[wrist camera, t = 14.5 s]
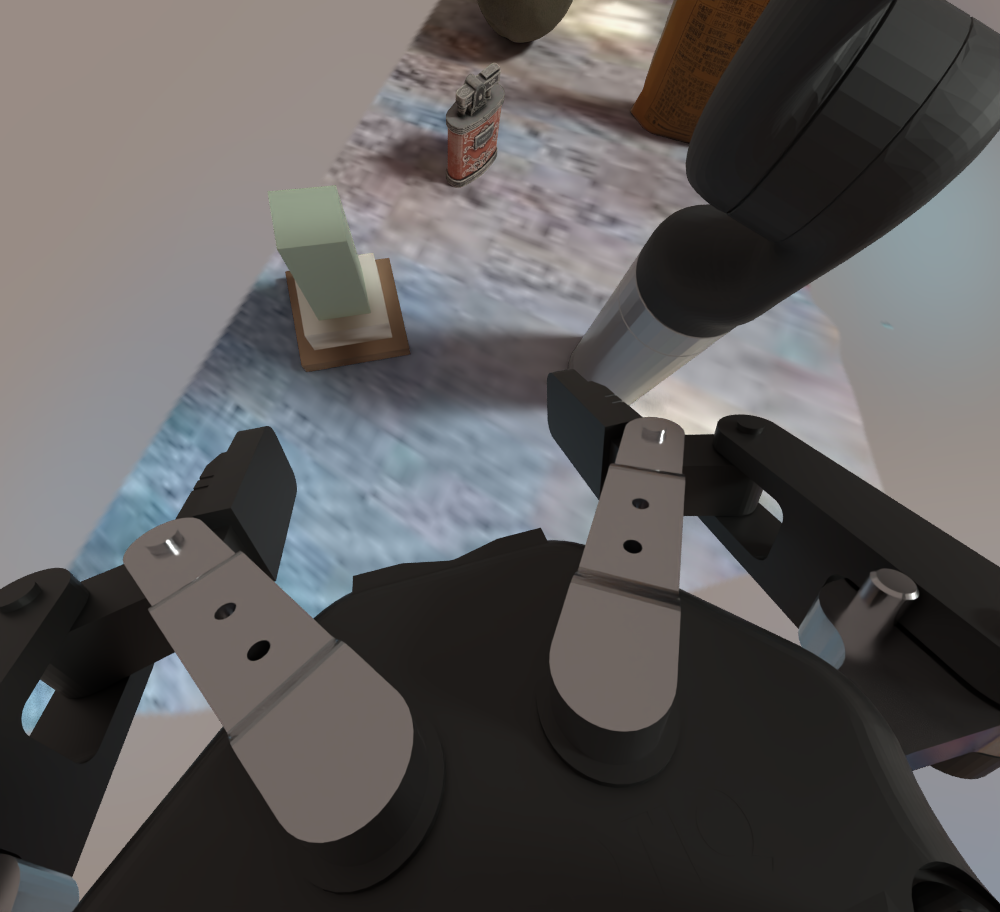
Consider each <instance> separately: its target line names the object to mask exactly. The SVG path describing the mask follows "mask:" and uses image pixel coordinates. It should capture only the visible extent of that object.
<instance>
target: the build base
mask: <svg viewBox="0 0 1000 912" xmlns="http://www.w3.org/2000/svg"><path fill="white" fill-rule="evenodd" d="M358 258H359V261H360V264H361V268H362V272H363V277H364V281H365V286H366V291H367V296H368V301H369V306H370V311H371V313H368V314H361V315H354V316H347V317H341V318H334V319H327V320H320V321H319V320H318V318H317V317H316V315H315V313H314V312H313V310H312V308H311V306H310V305H309V303H308V301H307V300H306V298H305V296H304V295H303V293H302V291H301V289H300V288H299V286H298V284H297V283H296V281H295V279H294V277H293V276H292V274H291V272H290V271H285V273H286V279H287V284H288V290H289V296H290V302H291V307H292V313H293V319H294V324H295V330H296V336H297V342H298V347H299V353H300V359H301V365H302V367H303V368H304V369H305V371H306V372H310V371H316V370H322V369H327V368H333V367H339V366H345V365H351V364H357V363H362V362H368V361H374V360H380V359H386V358H392V357H398V356H403V355H409V354H410V349H409V344H408V340H407V335H406V331H405V326H404V322H403V318H402V313H401V309H400V304H399V300H398V295H397V291H396V286H395V282H394V277H393V273H392V269H391V264H390V260H389V258H385V259H378V260H375V258H374V254H373V253H369V254H361V255H358Z"/></svg>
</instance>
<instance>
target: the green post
mask: <svg viewBox="0 0 1000 912" xmlns="http://www.w3.org/2000/svg"><path fill="white" fill-rule="evenodd" d="M268 197H269V203H270V209H271V215H272V222H273V228H274V233H275V240H276V246H277V250H278V252H279V253H280V255H281V257H282V259H283V260H284V262H285V264H286V265H287V267H288V269H289V271H290V272H291V274H292V276H293V277H294V279H295V281H296V283H297V284H298V286H299V288H300V289H301V291H302V293H303V295H304V296H305V298H306V300H307V301H308V303H309V305H310V306H311V308H312V310H313V312H314V313H315V315H316V317H317V318H318V320H319V321H320V320H327V319H334V318H341V317H347V316H354V315H361V314H368V313H371V311H370V306H369V301H368V296H367V291H366V286H365V281H364V277H363V272H362V268H361V264H360V261H359V258H358V255H357V252H356V248H355V245H354V242H353V239H352V236H351V232H350V229H349V226H348V223H347V220H346V216H345V213H344V210H343V207H342V204H341V201H340V197H339V194H338V191H337V188H336V185H334V186H324V187H313V188H302V189H291V190H280V191H269V192H268Z"/></svg>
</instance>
